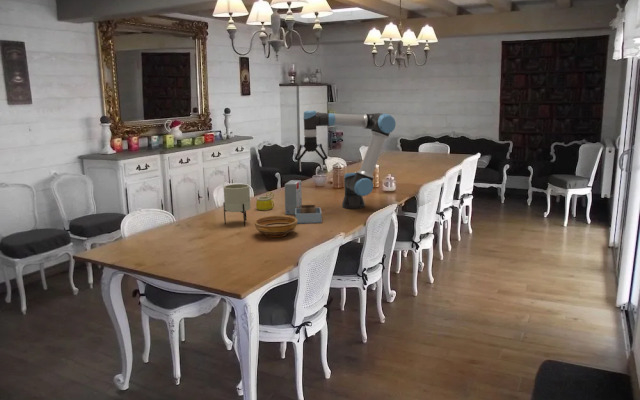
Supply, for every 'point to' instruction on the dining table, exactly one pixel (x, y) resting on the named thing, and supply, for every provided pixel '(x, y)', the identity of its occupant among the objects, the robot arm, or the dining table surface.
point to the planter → (236, 199)
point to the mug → (265, 202)
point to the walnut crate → (308, 209)
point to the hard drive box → (293, 196)
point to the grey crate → (308, 216)
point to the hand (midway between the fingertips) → (311, 170)
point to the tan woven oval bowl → (275, 225)
